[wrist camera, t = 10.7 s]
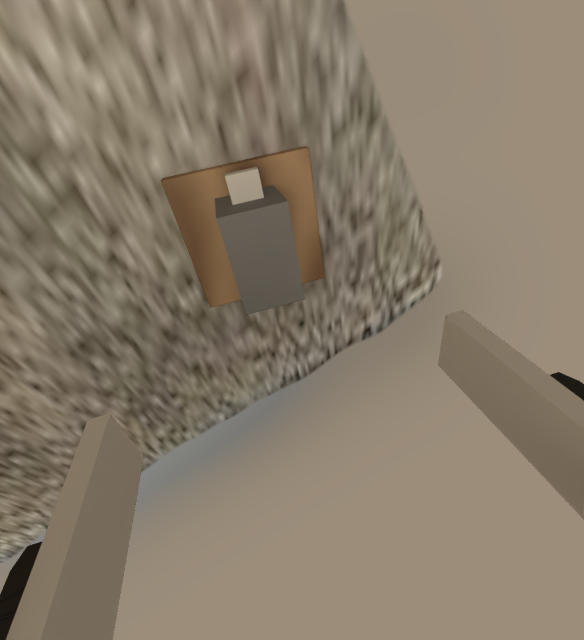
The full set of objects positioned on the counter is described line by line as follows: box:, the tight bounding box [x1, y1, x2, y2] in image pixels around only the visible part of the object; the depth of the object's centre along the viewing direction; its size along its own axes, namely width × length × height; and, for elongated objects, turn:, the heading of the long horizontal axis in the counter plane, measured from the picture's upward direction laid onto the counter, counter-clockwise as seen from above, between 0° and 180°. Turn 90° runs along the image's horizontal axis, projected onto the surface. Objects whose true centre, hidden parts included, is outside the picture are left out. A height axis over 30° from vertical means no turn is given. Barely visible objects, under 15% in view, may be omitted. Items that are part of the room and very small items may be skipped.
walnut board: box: [161, 146, 324, 308], centre depth 29 cm, size 12×12×1 cm
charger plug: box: [215, 167, 305, 315], centre depth 25 cm, size 5×10×6 cm, turn 10°
